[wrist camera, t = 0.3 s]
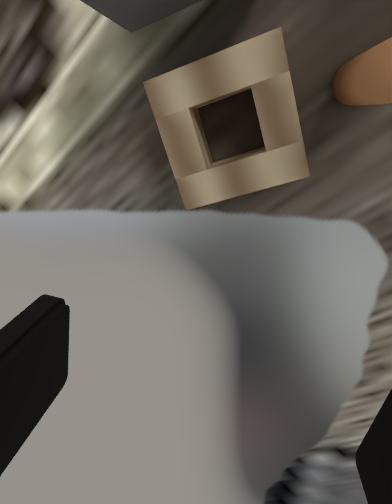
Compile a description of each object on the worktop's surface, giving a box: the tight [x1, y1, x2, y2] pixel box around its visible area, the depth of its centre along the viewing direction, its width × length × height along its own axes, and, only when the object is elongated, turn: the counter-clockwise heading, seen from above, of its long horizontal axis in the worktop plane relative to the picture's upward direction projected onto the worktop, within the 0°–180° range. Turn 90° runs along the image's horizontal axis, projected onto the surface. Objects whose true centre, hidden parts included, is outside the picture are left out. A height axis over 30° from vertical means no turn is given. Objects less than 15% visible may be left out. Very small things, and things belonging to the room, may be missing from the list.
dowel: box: [333, 37, 392, 106], centre depth 25 cm, size 4×4×12 cm
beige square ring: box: [143, 27, 310, 210], centre depth 31 cm, size 12×12×5 cm
